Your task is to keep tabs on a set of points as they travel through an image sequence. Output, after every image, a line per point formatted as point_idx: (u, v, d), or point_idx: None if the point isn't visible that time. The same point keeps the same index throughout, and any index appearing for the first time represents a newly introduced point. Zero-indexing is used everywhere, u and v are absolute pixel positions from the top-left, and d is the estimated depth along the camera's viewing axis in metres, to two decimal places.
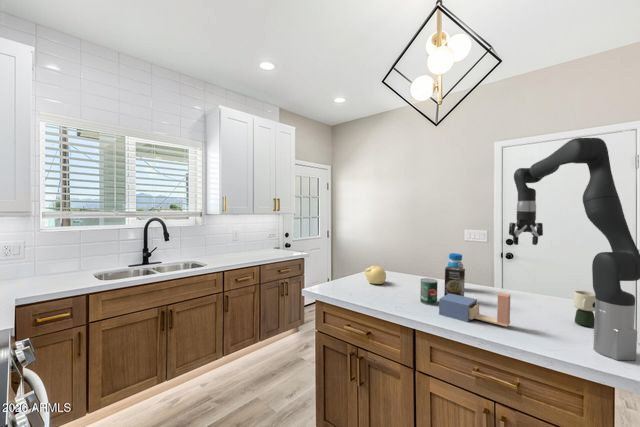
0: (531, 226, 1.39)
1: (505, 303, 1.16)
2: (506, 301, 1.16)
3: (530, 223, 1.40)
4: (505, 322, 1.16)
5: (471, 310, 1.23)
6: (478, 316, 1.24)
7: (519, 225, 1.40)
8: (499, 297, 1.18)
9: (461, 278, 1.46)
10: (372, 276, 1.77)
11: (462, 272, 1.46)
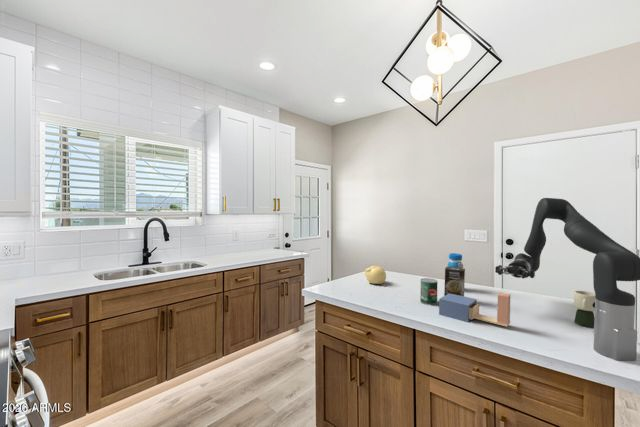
0: (519, 266, 1.31)
1: (505, 303, 1.16)
2: (506, 301, 1.16)
3: None
4: (505, 322, 1.16)
5: (471, 310, 1.23)
6: (478, 316, 1.24)
7: None
8: (499, 297, 1.18)
9: (461, 278, 1.46)
10: (372, 276, 1.77)
11: (462, 272, 1.46)
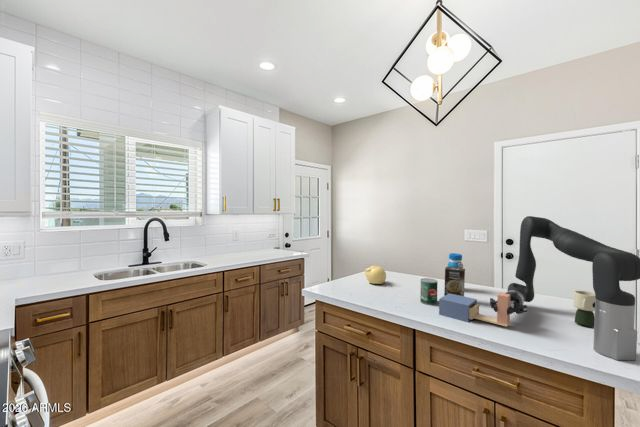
0: (511, 300, 1.22)
1: (505, 303, 1.16)
2: (506, 301, 1.16)
3: None
4: (505, 322, 1.16)
5: (471, 310, 1.23)
6: (478, 316, 1.24)
7: None
8: (499, 297, 1.18)
9: (461, 278, 1.46)
10: (372, 276, 1.77)
11: (462, 272, 1.46)
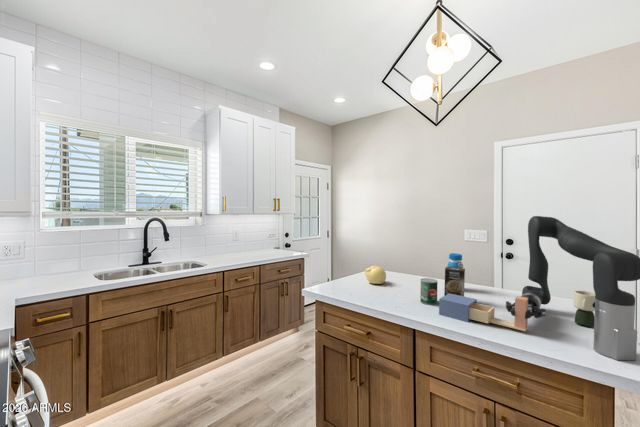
0: (529, 304, 1.18)
1: (523, 306, 1.12)
2: (524, 305, 1.12)
3: None
4: (523, 326, 1.12)
5: (487, 314, 1.19)
6: (494, 320, 1.20)
7: None
8: (516, 300, 1.13)
9: (461, 278, 1.46)
10: (372, 276, 1.77)
11: (462, 272, 1.46)
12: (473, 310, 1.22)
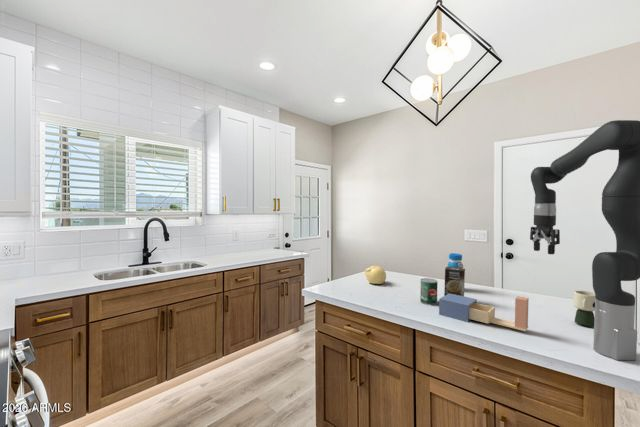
0: (541, 232, 1.25)
1: (523, 306, 1.12)
2: (524, 305, 1.12)
3: (543, 228, 1.25)
4: (523, 326, 1.12)
5: (487, 314, 1.19)
6: (494, 320, 1.20)
7: (536, 230, 1.30)
8: (517, 301, 1.13)
9: (461, 278, 1.46)
10: (372, 276, 1.77)
11: (462, 272, 1.46)
12: (473, 310, 1.22)
